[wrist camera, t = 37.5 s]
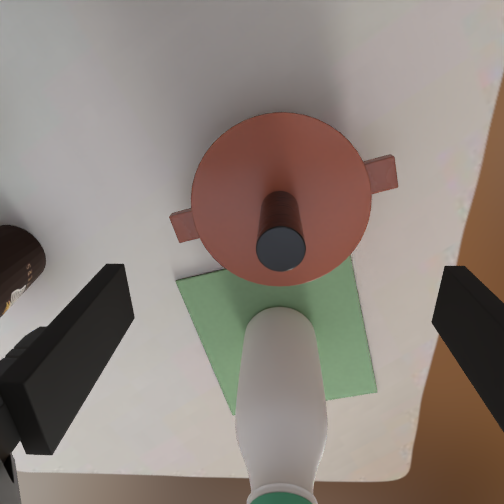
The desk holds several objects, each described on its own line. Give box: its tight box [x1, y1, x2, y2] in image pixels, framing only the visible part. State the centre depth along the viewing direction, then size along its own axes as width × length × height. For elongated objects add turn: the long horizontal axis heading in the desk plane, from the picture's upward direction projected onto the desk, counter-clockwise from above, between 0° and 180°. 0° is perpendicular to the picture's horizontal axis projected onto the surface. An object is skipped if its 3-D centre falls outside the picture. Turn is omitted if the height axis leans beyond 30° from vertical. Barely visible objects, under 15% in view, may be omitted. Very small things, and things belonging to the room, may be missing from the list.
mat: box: [176, 255, 377, 415], centre depth 40 cm, size 20×18×1 cm
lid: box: [191, 112, 372, 286], centre depth 24 cm, size 13×13×9 cm
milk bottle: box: [235, 307, 328, 504], centre depth 30 cm, size 8×8×20 cm
